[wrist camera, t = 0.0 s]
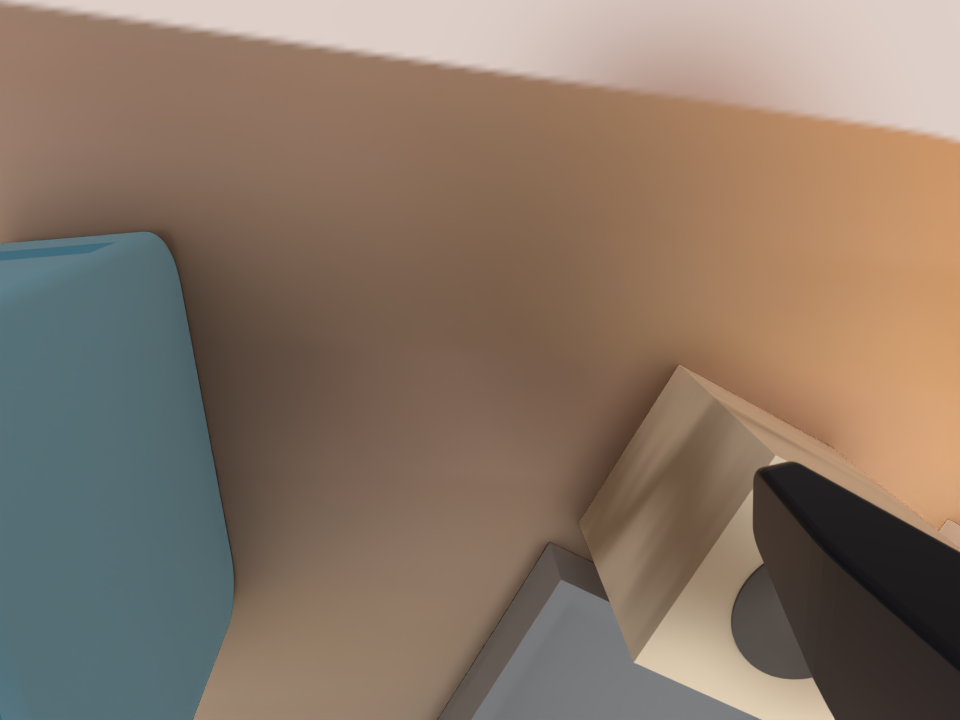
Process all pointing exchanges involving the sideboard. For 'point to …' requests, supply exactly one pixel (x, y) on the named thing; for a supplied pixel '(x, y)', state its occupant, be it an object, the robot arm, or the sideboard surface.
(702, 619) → the birch block
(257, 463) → the sideboard surface
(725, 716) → the tray
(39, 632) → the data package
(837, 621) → the robot arm
